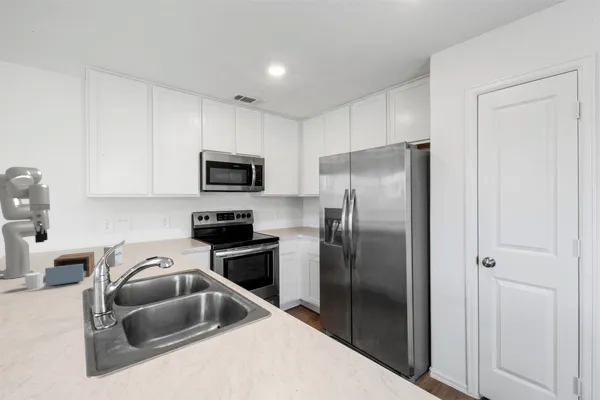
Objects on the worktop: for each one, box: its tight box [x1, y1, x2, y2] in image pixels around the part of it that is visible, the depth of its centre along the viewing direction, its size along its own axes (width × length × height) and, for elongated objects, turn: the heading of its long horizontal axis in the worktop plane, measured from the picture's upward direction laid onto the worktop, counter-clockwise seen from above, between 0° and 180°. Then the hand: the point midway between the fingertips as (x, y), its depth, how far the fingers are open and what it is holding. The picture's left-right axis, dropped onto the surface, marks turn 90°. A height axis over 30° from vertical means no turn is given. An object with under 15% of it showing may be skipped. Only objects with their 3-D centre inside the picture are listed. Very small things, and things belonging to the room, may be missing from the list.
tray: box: [44, 264, 87, 287], centre depth 141 cm, size 14×15×9 cm
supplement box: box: [103, 244, 123, 268], centre depth 175 cm, size 7×7×13 cm
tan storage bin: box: [53, 251, 95, 278], centre depth 153 cm, size 14×15×12 cm
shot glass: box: [24, 271, 45, 290], centre depth 134 cm, size 7×7×7 cm
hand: (41, 241), depth 137 cm, fingers open, 9 cm apart
